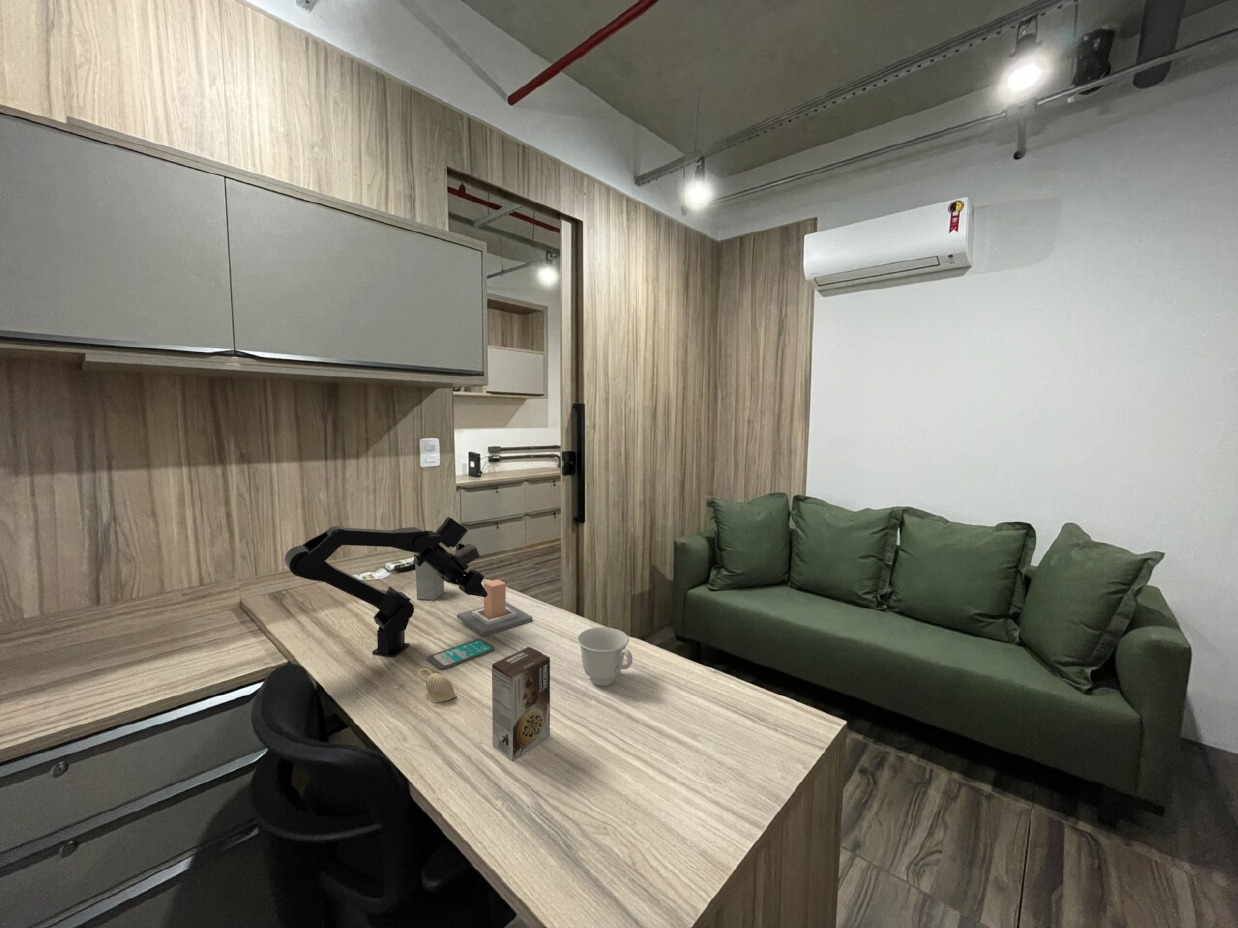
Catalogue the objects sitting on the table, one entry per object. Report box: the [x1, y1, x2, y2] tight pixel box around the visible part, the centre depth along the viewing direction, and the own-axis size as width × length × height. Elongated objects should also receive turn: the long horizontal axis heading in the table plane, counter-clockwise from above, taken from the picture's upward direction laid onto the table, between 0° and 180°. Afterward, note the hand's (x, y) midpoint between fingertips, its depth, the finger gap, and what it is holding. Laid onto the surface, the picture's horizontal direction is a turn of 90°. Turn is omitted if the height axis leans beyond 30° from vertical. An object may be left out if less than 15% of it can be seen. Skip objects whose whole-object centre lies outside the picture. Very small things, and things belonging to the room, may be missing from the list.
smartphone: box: [426, 638, 495, 671], centre depth 123 cm, size 9×1×15 cm
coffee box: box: [491, 646, 551, 762], centre depth 90 cm, size 9×6×16 cm
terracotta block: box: [483, 579, 507, 619], centre depth 144 cm, size 5×5×10 cm
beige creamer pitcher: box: [418, 667, 458, 703], centre depth 104 cm, size 4×8×5 cm, turn 61°
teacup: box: [577, 626, 634, 686], centre depth 112 cm, size 12×15×10 cm
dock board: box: [456, 601, 533, 637], centre depth 144 cm, size 16×16×2 cm
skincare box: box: [414, 553, 445, 601], centre depth 161 cm, size 8×7×16 cm
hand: (478, 591), depth 140 cm, fingers open, 9 cm apart
